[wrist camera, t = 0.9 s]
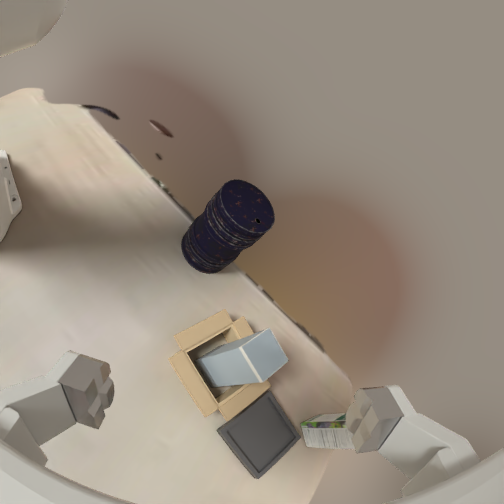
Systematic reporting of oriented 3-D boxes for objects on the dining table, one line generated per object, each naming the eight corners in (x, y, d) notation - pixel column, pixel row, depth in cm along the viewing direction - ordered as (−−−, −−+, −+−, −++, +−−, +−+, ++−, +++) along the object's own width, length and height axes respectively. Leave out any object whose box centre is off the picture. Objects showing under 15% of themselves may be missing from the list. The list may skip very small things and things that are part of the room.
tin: (194, 360, 40) (241, 346, 31) (218, 346, 44) (269, 327, 34) (210, 387, 40) (263, 382, 30) (233, 371, 43) (288, 360, 33)
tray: (216, 430, 36) (219, 430, 36) (265, 390, 45) (269, 390, 44) (254, 477, 35) (258, 479, 34) (296, 437, 43) (300, 437, 42)
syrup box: (318, 413, 48) (378, 407, 38) (324, 437, 46) (384, 435, 36) (299, 423, 45) (361, 420, 35) (305, 448, 43) (367, 450, 32)
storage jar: (172, 232, 49) (208, 180, 39) (213, 222, 56) (255, 177, 45) (195, 281, 47) (240, 240, 37) (236, 266, 54) (285, 227, 44)
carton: (153, 346, 38) (159, 342, 35) (225, 309, 48) (236, 302, 46) (204, 428, 36) (215, 430, 33) (267, 379, 46) (280, 377, 43)
